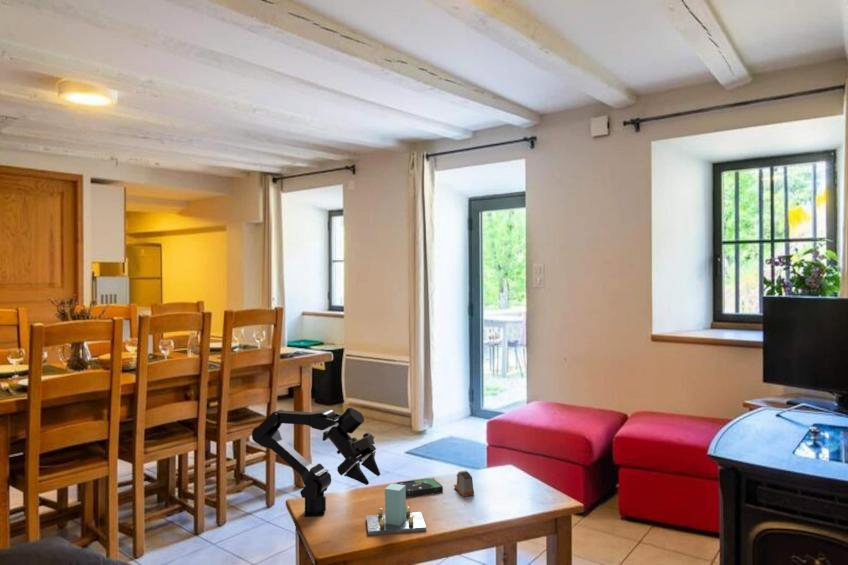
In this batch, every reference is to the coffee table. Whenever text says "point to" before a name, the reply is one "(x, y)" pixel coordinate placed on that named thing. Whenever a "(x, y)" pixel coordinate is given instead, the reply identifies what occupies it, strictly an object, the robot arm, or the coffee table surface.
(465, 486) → the electronic device
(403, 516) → the teal block
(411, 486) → the disk drive
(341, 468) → the robot arm
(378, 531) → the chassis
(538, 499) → the coffee table surface
